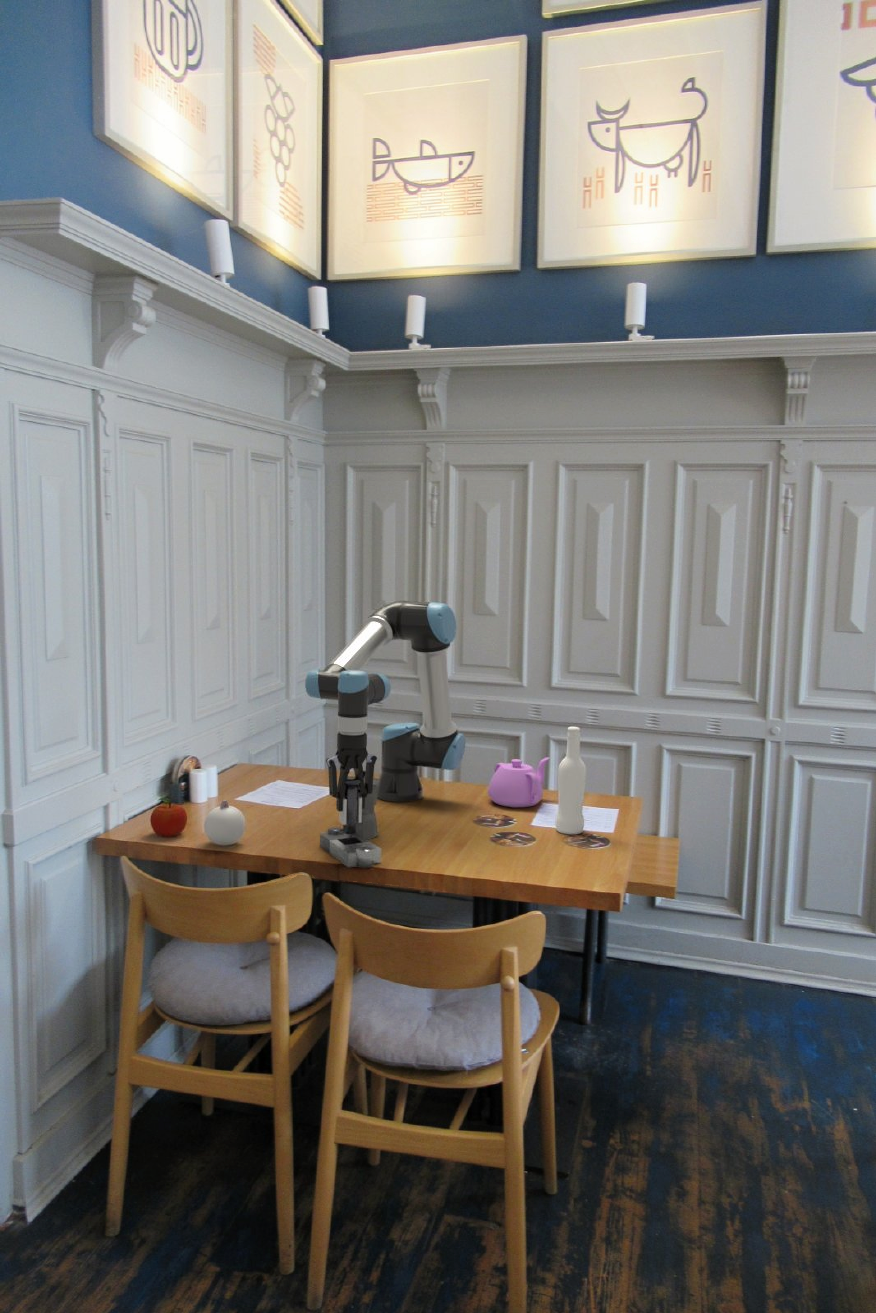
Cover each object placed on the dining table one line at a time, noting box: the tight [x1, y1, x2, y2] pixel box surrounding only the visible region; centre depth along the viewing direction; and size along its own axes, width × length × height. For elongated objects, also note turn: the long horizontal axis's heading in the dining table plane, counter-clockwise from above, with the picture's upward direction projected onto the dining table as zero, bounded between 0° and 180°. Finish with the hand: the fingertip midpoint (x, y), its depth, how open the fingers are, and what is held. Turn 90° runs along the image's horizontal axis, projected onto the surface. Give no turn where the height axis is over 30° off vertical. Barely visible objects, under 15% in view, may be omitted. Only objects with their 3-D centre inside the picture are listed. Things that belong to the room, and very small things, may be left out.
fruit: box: [149, 797, 188, 838], centre depth 255 cm, size 10×10×10 cm
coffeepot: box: [357, 770, 380, 840], centre depth 259 cm, size 15×9×18 cm, turn 145°
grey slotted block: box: [319, 826, 382, 869], centre depth 244 cm, size 9×22×4 cm, turn 30°
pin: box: [342, 775, 361, 834], centre depth 243 cm, size 5×5×14 cm
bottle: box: [554, 726, 587, 835], centre depth 269 cm, size 8×8×30 cm
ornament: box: [203, 799, 246, 846], centre depth 249 cm, size 10×10×12 cm
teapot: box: [487, 756, 551, 809], centre depth 299 cm, size 22×22×14 cm
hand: (350, 821), depth 243 cm, fingers closed on pin, 4 cm apart
